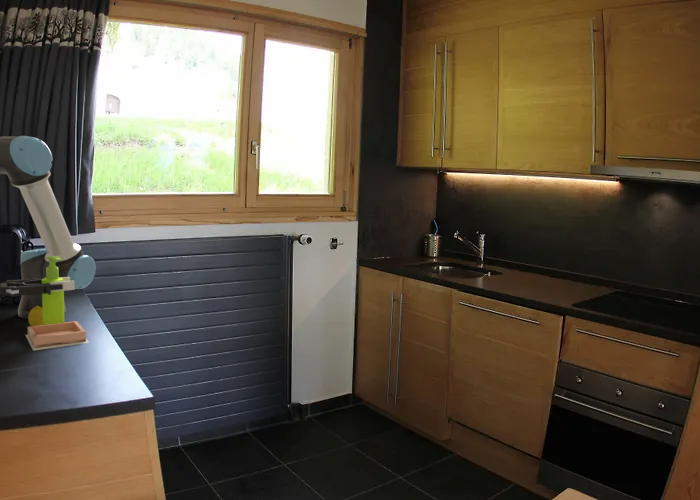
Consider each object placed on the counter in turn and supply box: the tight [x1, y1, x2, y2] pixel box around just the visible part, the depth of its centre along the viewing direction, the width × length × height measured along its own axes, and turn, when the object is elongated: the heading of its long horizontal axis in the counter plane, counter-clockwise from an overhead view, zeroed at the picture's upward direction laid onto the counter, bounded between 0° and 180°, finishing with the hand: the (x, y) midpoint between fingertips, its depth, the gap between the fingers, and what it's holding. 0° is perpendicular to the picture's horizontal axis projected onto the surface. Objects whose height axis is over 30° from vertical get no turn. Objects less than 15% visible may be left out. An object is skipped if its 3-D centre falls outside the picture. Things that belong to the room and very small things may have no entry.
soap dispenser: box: [42, 256, 66, 325], centre depth 186 cm, size 6×7×20 cm
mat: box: [25, 334, 90, 351], centre depth 189 cm, size 18×15×1 cm
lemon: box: [28, 306, 47, 327], centre depth 199 cm, size 6×6×8 cm
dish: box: [27, 320, 87, 348], centre depth 189 cm, size 14×14×3 cm
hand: (71, 283), depth 189 cm, fingers closed on soap dispenser, 6 cm apart
